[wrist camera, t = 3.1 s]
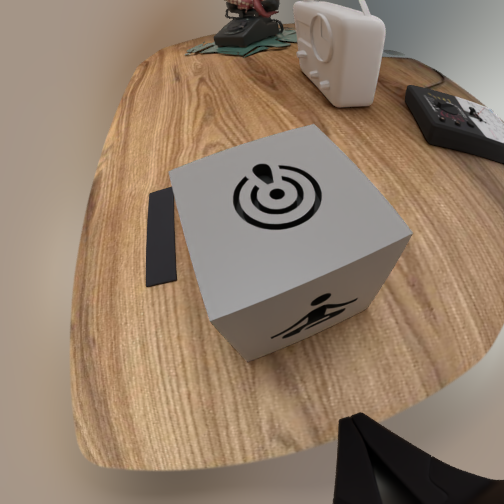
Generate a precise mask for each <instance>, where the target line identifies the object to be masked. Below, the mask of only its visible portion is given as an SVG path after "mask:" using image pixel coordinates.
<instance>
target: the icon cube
mask: <svg viewBox="0 0 504 504" xmlns="http://www.w3.org/2000/svg"><path fill="white" fill-rule="evenodd" d="M169 176H170V180H171V184H172V189H173V193H174V197H175V201H176V205H177V209H178V213H179V217H180V221H181V224H182V228H183V232H184V236H185V239H186V243H187V247H188V250H189V254H190V257H191V261H192V264H193V268H194V271H195V275H196V278H197V281H198V285H199V288H200V291H201V295H202V298H203V301H204V304H205V307H206V311H207V314H208V317H209V320H210V322H211V323H212V324H213V325H214V326H215V328H216V329H217V330H218V331H219V332H220V333H221V334H222V335H223V336H224V338H225V339H226V340H227V341H228V342H229V343H230V344H231V345H232V346H233V347H234V349H235V350H236V351H237V352H238V353H239V354H240V355H241V356H242V357H243V358H244V359H245V360H246V361H247V362H249V361H252V360H254V359H257V358H260V357H262V356H265V355H267V354H270V353H272V352H275V351H277V350H279V349H282V348H284V347H287V346H289V345H291V344H294V343H296V342H298V341H301V340H303V339H305V338H307V337H310V336H312V335H314V334H316V333H318V332H321V331H323V330H325V329H327V328H329V327H331V326H333V325H335V324H337V323H340V322H342V321H344V320H346V319H348V318H350V317H352V316H354V315H356V314H358V313H359V312H361V311H363V310H365V309H367V308H368V307H369V305H370V304H371V302H372V301H373V299H374V298H375V296H376V295H377V293H378V292H379V290H380V288H381V287H382V285H383V284H384V282H385V281H386V279H387V277H388V276H389V274H390V272H391V271H392V269H393V268H394V266H395V264H396V262H397V261H398V259H399V257H400V256H401V254H402V252H403V250H404V249H405V247H406V245H407V243H408V241H409V240H410V238H411V236H412V234H413V232H412V231H411V230H410V228H409V227H408V226H407V224H406V223H405V222H404V221H403V219H402V218H401V217H400V216H399V214H398V213H397V212H396V211H395V209H394V208H393V207H392V206H391V204H390V203H389V202H388V201H387V200H386V199H385V197H384V196H383V195H382V194H381V193H380V191H379V190H378V189H377V188H376V187H375V186H374V185H373V184H372V182H371V181H370V180H369V179H368V178H367V177H366V176H365V175H364V174H363V172H362V171H361V170H360V169H359V168H358V167H357V166H356V165H355V164H354V163H353V162H352V161H351V160H350V159H349V158H348V157H347V156H346V155H345V154H344V153H343V152H342V151H341V150H340V149H339V148H338V147H337V146H336V145H335V144H334V143H333V142H332V141H331V140H330V139H329V138H328V137H327V136H326V135H325V134H324V133H323V132H322V131H321V130H320V129H319V128H318V127H316V126H315V125H314V124H312V125H308V126H304V127H300V128H296V129H293V130H289V131H285V132H282V133H278V134H274V135H271V136H268V137H264V138H261V139H258V140H254V141H251V142H248V143H245V144H242V145H239V146H236V147H233V148H230V149H227V150H224V151H221V152H218V153H215V154H212V155H210V156H207V157H204V158H201V159H199V160H196V161H193V162H191V163H188V164H186V165H183V166H181V167H178V168H176V169H173V170H171V171H169Z"/></svg>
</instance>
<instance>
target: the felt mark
mask: <svg viewBox="0 0 504 504" xmlns="http://www.w3.org/2000/svg"><path fill="white" fill-rule="evenodd" d="M176 280H177V274H176V256H175V231H174V193H173V189H172V187H169V188H166V189H162V190H159V191H156V192H153V193H150V194H149V207H148V222H147V244H146V287H150V286H154V285H158V284H163V283H167V282H171V281H176Z"/></svg>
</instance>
